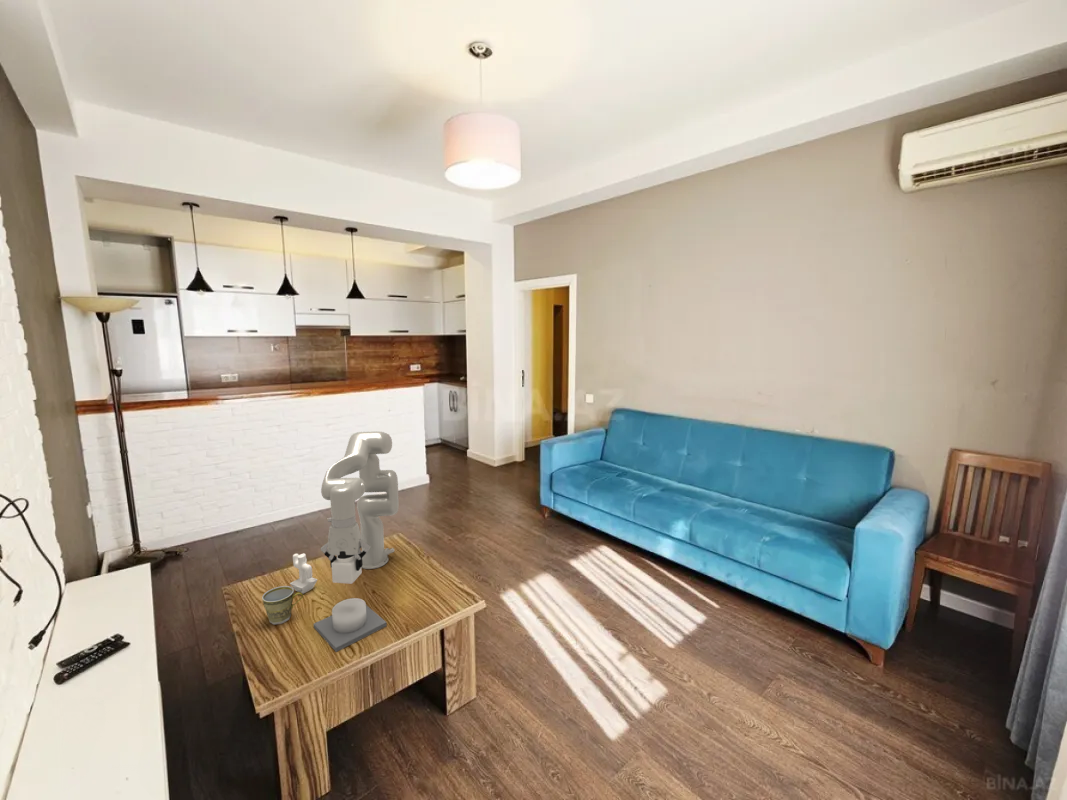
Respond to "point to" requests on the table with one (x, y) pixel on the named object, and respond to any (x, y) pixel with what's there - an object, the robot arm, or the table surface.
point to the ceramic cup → (279, 603)
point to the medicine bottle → (345, 569)
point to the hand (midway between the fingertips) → (346, 568)
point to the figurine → (303, 574)
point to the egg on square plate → (349, 623)
